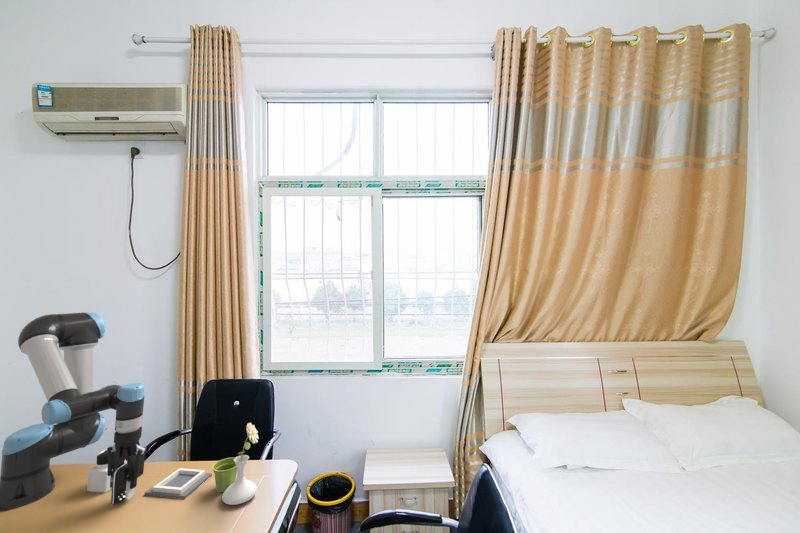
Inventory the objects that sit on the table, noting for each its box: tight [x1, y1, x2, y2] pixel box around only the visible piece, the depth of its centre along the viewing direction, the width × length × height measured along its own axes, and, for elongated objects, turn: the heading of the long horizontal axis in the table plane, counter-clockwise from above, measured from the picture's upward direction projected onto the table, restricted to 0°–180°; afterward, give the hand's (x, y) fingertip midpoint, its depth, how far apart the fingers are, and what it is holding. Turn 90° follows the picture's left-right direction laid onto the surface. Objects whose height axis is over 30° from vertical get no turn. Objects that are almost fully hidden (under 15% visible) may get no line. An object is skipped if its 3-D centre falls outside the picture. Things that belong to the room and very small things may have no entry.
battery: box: [110, 461, 129, 505], centre depth 113 cm, size 7×4×11 cm, turn 2°
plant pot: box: [211, 457, 237, 493], centre depth 121 cm, size 9×9×9 cm
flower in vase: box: [221, 422, 260, 506], centre depth 117 cm, size 13×11×25 cm
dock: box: [144, 467, 213, 500], centre depth 122 cm, size 16×14×2 cm
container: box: [86, 448, 127, 494], centre depth 121 cm, size 8×8×13 cm
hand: (123, 496), depth 113 cm, fingers closed on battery, 4 cm apart
